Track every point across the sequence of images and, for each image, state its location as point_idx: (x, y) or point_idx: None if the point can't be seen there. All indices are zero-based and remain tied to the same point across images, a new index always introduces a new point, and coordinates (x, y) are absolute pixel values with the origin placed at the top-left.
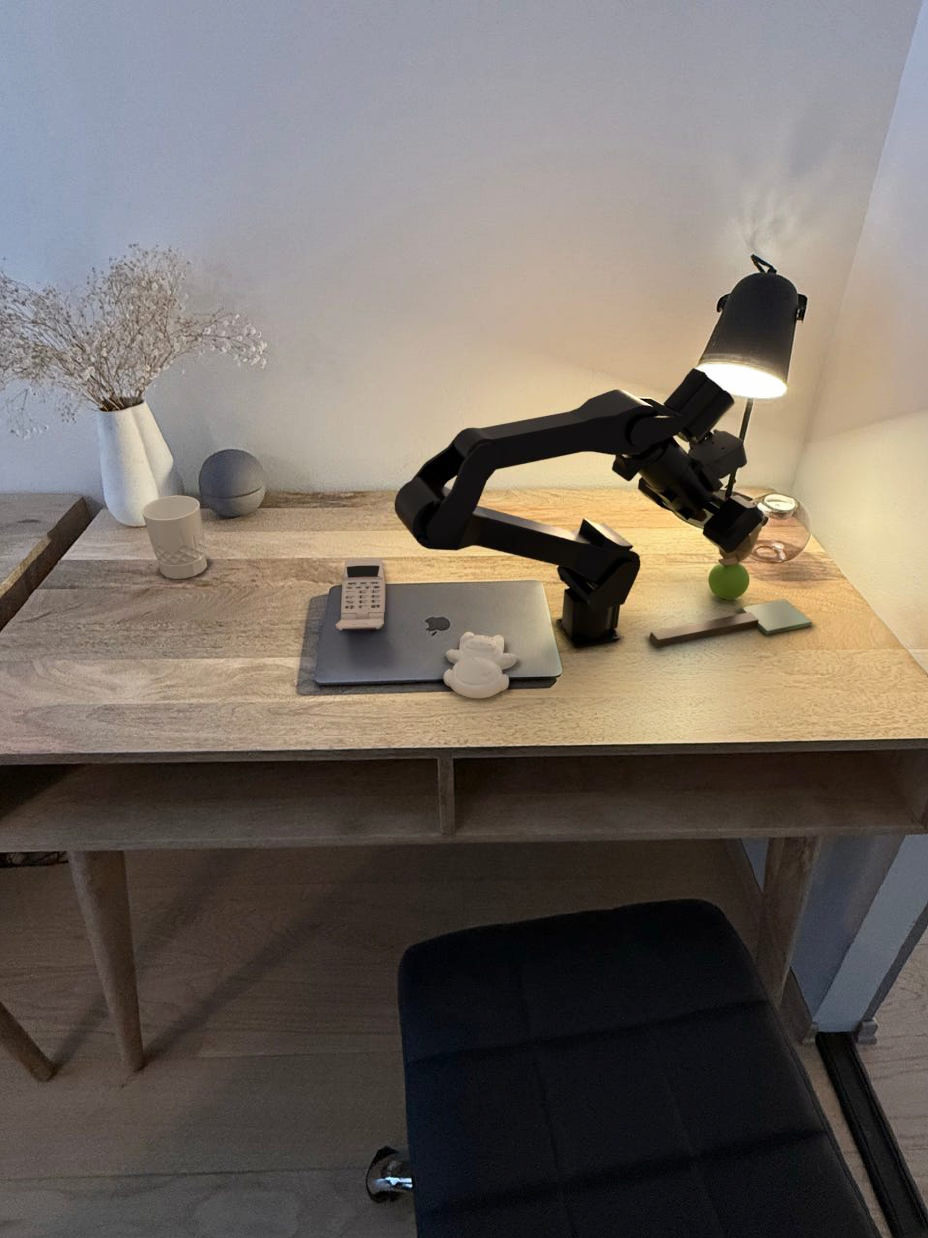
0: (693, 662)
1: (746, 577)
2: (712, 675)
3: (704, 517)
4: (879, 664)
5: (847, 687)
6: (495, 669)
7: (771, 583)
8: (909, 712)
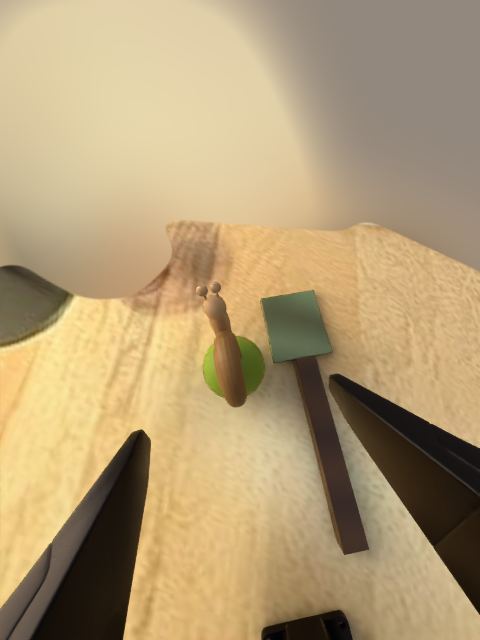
0: None
1: (255, 347)
2: None
3: (143, 442)
4: (383, 259)
5: (429, 309)
6: None
7: None
8: (464, 271)
